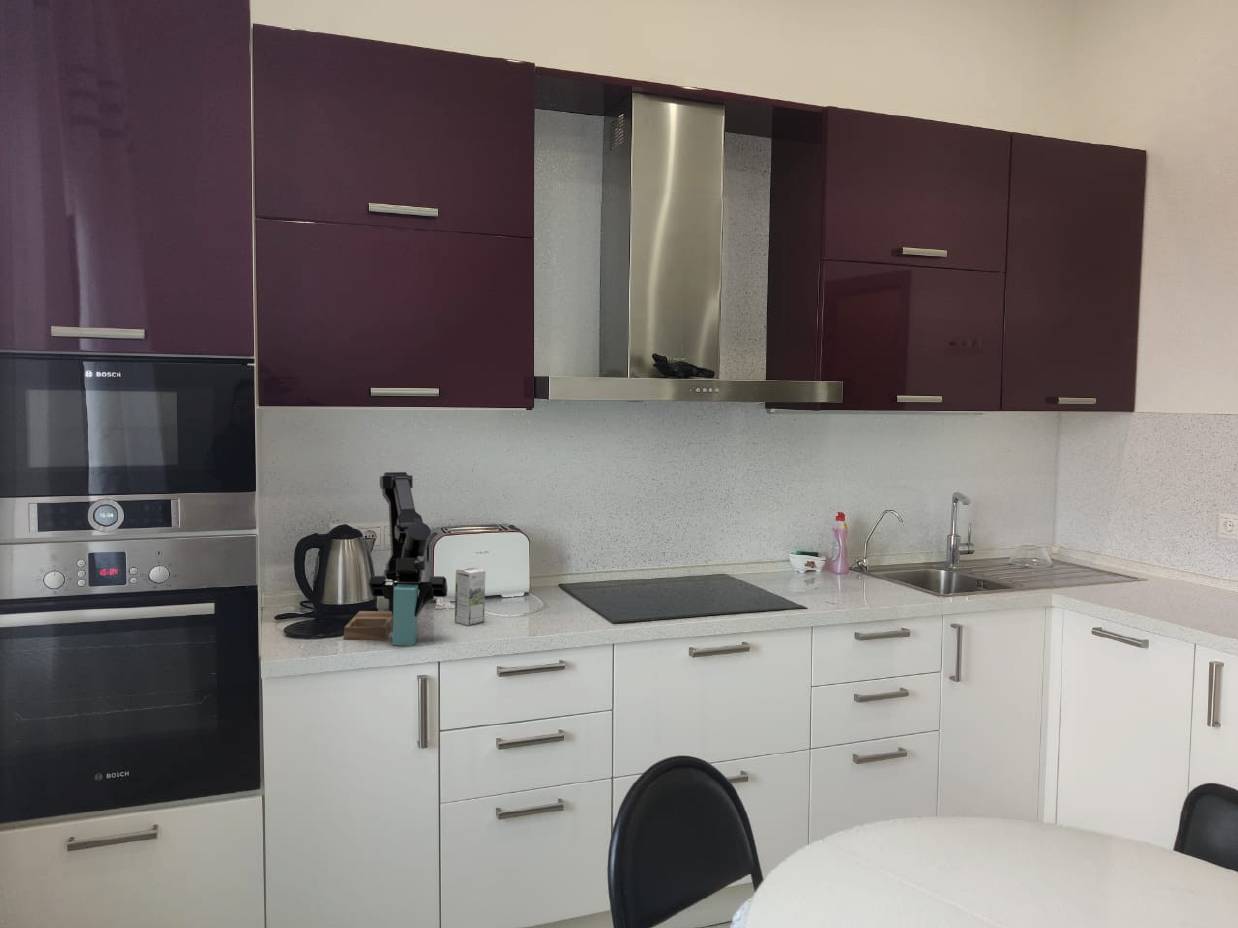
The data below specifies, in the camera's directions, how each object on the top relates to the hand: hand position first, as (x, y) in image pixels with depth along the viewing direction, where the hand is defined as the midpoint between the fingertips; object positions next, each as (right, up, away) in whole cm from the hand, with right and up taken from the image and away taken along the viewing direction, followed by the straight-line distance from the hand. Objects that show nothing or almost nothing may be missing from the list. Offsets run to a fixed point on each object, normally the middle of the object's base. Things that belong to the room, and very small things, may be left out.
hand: (404, 615), depth 227 cm
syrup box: (+12, -6, +23) cm, 27 cm away
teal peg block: (0, -7, +2) cm, 7 cm away
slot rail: (-11, -6, +13) cm, 18 cm away
